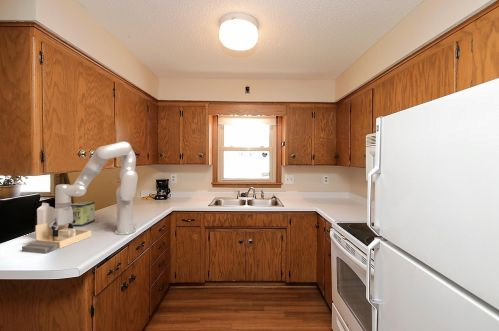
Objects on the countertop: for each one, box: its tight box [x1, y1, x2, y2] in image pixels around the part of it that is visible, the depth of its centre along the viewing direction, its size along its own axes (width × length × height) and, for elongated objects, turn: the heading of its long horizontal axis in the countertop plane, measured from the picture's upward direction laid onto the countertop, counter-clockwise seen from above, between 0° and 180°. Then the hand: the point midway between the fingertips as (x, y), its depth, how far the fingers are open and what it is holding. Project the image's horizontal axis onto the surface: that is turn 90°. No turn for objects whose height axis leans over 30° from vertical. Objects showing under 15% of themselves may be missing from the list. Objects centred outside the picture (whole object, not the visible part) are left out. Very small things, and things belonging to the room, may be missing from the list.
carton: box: [35, 222, 92, 250], centre depth 151 cm, size 21×16×12 cm
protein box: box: [71, 201, 96, 227], centre depth 191 cm, size 10×16×16 cm
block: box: [55, 228, 76, 241], centre depth 151 cm, size 4×10×7 cm, turn 79°
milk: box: [36, 202, 55, 225], centre depth 156 cm, size 6×6×22 cm
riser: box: [21, 242, 58, 255], centre depth 136 cm, size 6×15×3 cm, turn 79°
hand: (63, 234), depth 151 cm, fingers open, 9 cm apart
